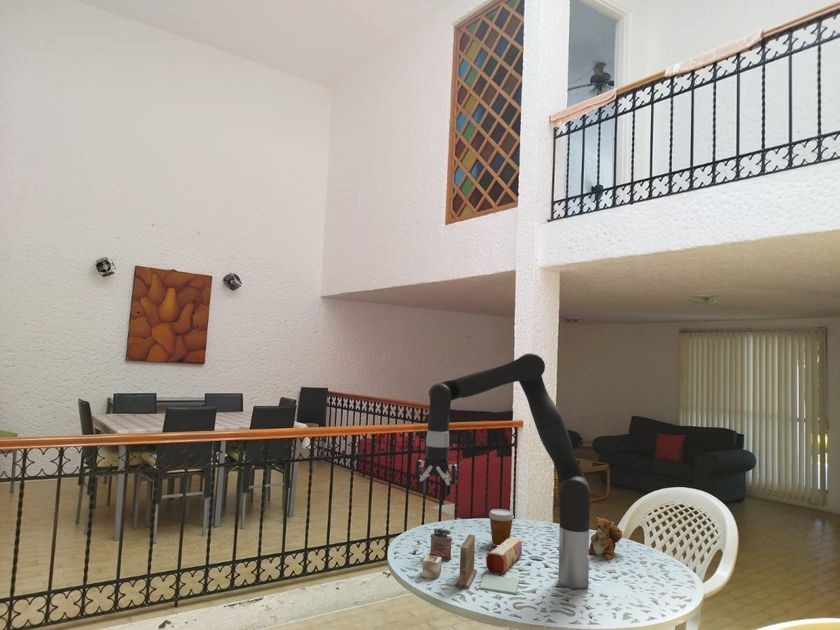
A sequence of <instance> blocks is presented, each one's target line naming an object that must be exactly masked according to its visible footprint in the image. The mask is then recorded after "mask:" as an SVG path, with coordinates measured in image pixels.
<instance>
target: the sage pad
mask: <svg viewBox="0 0 840 630" xmlns="http://www.w3.org/2000/svg"><path fill="white" fill-rule="evenodd" d="M519 583H520V579H519V578H512V577H506V576H500V575H494V574H486V573H485V574H484V576H483V578H482V581H481V582H480V585H479V589H480V590H485V591H493V592H498V593H505V594H510V595H511V594H512V595H517V591H518V587H519Z"/></svg>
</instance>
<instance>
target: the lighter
mask: <svg viewBox="0 0 840 630" xmlns="http://www.w3.org/2000/svg"><path fill="white" fill-rule="evenodd" d="M449 535H451V530H450V529H446V528H443V527H439V528H437V527H434V528H433V532H432V533H430V551H429V552H430V553H429V556H435V557H442V561H445V560H446V562H447V561H448V562H449V561H451V560H452V541H453V537H452V536H449Z"/></svg>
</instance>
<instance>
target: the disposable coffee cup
mask: <svg viewBox="0 0 840 630" xmlns="http://www.w3.org/2000/svg"><path fill="white" fill-rule="evenodd" d="M488 516H489V521H490V522H489V523H490V534H491V543H493V544H495V545H500V544H501V543H503V542H504V541H505V540H506V539H508V538H511V533H512V526H513V520H514V518H515V516H514V513H513V512H512V510H507V509H502V508H496V509H491V510H490V512H489V513H488ZM493 544H492V545H493ZM495 545H494V546H495Z"/></svg>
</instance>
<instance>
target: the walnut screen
mask: <svg viewBox="0 0 840 630" xmlns="http://www.w3.org/2000/svg"><path fill="white" fill-rule="evenodd" d="M475 544H476V534H473V533H469V534H468V535H467V536H466V538H465V540H464V541H463V543H462V544H461V546H460V557H459V578H458V580H457V581H456V584H455V588H459V589H465V590H470V588H471V585H472V583H473V581H474V579H475V578H476V575H477V573H478V569H475V551H476V550H475V546H476V545H475Z"/></svg>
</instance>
